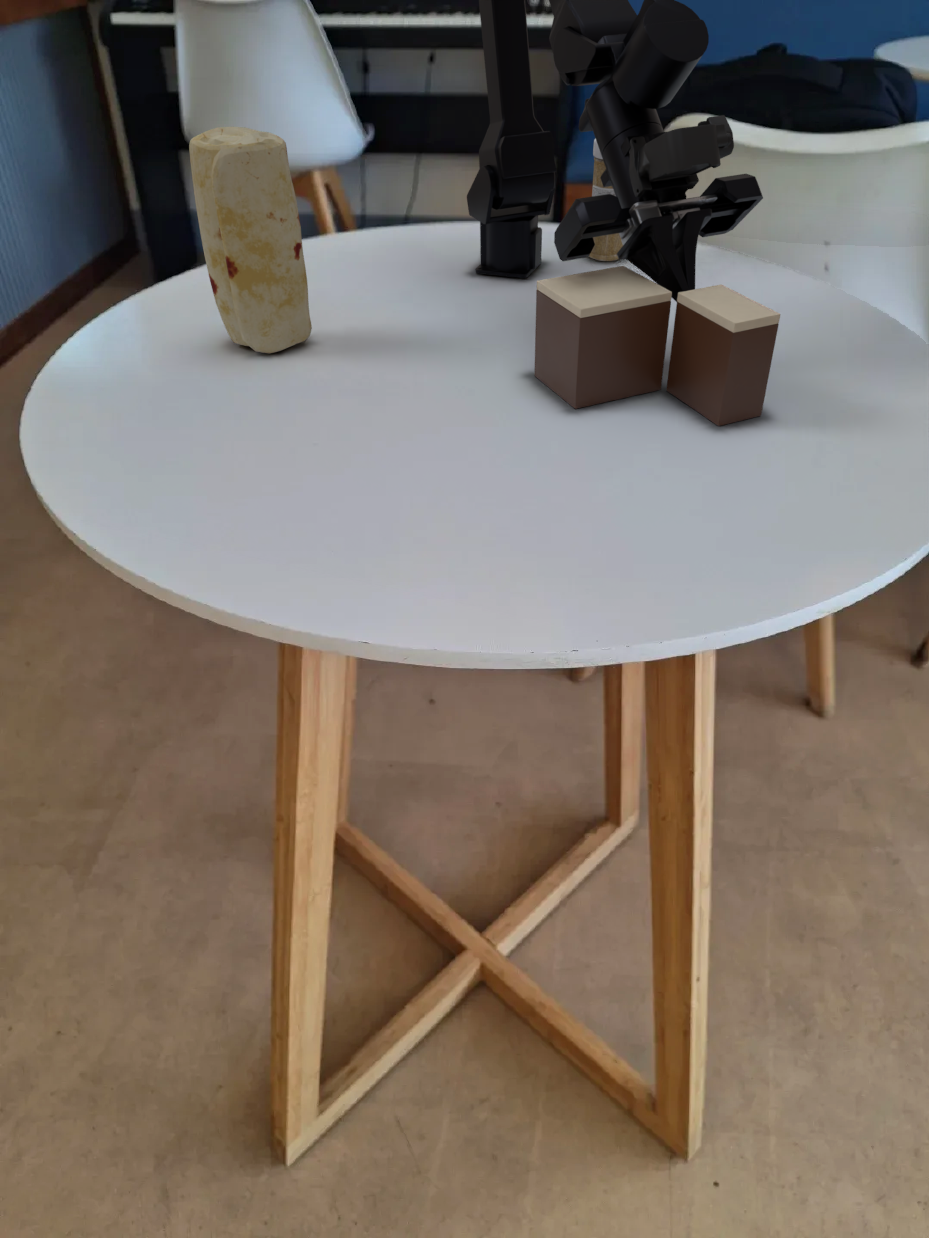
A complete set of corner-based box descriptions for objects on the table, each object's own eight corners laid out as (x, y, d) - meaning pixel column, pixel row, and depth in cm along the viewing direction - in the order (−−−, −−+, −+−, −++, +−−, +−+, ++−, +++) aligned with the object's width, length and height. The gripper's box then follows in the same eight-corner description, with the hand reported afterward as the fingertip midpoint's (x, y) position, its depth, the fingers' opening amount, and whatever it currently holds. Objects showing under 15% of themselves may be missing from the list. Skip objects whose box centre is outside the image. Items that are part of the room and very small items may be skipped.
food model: (319, 331, 99) (294, 121, 86) (308, 357, 93) (279, 136, 81) (228, 332, 99) (190, 123, 87) (212, 357, 94) (169, 138, 82)
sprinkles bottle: (605, 248, 119) (613, 131, 110) (631, 257, 116) (642, 137, 108) (579, 256, 116) (585, 137, 108) (606, 265, 114) (614, 143, 105)
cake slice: (666, 390, 85) (677, 292, 80) (707, 381, 87) (721, 284, 81) (718, 426, 80) (735, 323, 74) (761, 415, 81) (780, 313, 75)
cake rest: (534, 375, 89) (536, 280, 83) (615, 358, 91) (623, 265, 86) (575, 409, 83) (580, 309, 77) (661, 389, 86) (672, 291, 80)
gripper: (576, 91, 73) (639, 274, 72) (768, 70, 79) (830, 239, 78) (528, 178, 84) (583, 338, 83) (701, 154, 90) (754, 303, 89)
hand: (688, 304), depth 83 cm, fingers closed
